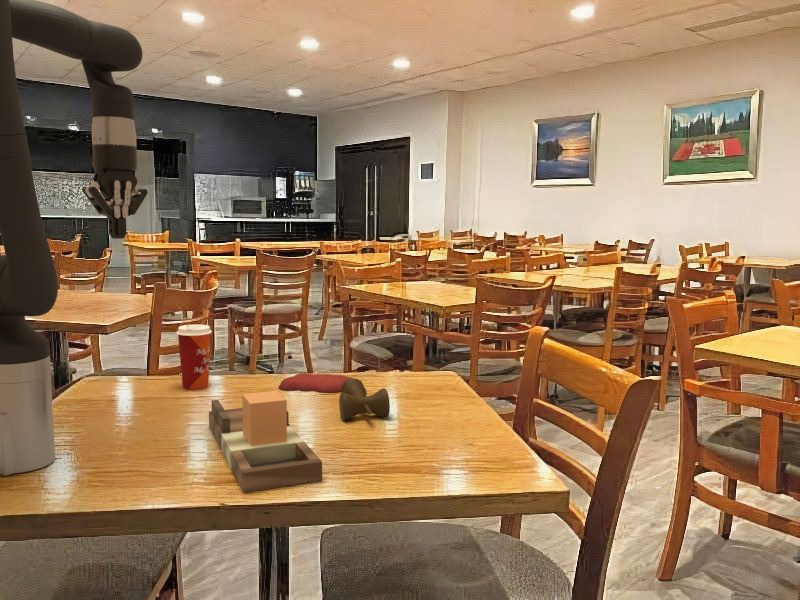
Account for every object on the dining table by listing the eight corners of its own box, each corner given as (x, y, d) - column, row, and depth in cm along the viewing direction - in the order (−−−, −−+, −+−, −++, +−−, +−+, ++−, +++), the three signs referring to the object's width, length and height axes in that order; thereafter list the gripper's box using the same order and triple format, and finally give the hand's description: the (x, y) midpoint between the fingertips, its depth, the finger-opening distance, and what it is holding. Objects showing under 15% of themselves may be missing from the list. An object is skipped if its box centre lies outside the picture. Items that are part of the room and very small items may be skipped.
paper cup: (207, 391, 152) (205, 330, 150) (173, 390, 152) (171, 329, 150) (217, 382, 159) (216, 324, 158) (184, 381, 160) (183, 323, 158)
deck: (209, 426, 128) (208, 398, 127) (272, 419, 133) (271, 392, 132) (243, 492, 99) (242, 456, 98) (322, 480, 104) (322, 446, 103)
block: (242, 434, 115) (242, 394, 114) (277, 429, 118) (277, 390, 117) (250, 445, 110) (250, 403, 109) (286, 440, 112) (286, 400, 111)
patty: (272, 392, 154) (272, 383, 154) (290, 377, 168) (290, 369, 167) (347, 396, 152) (347, 387, 151) (360, 381, 165) (360, 373, 165)
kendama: (373, 400, 149) (395, 426, 130) (330, 404, 147) (346, 431, 128) (373, 373, 149) (395, 396, 130) (329, 377, 146) (345, 400, 127)
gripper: (96, 140, 117) (100, 240, 120) (157, 146, 129) (160, 238, 131) (68, 141, 121) (73, 238, 123) (130, 147, 132) (133, 236, 135)
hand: (118, 238), depth 127 cm, fingers closed
